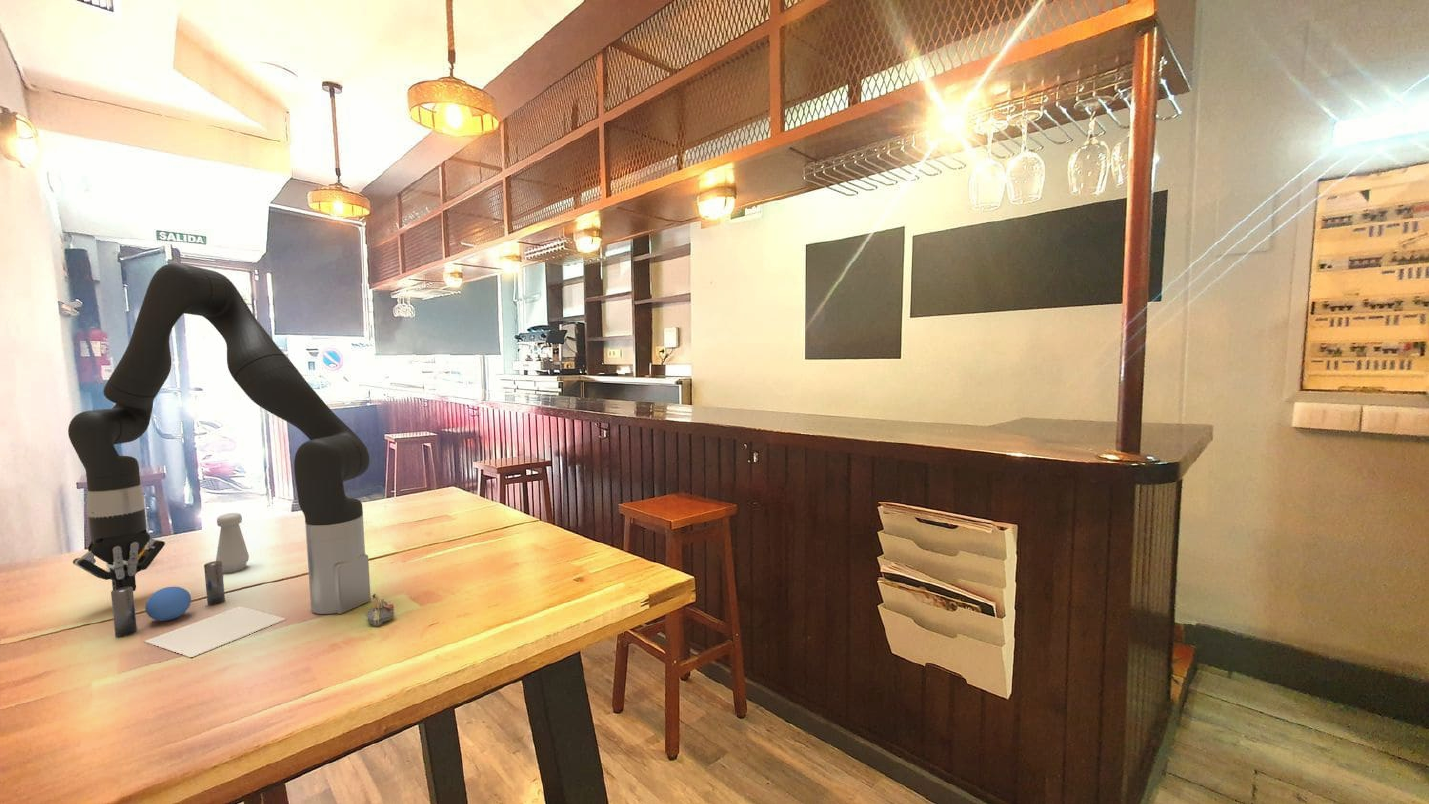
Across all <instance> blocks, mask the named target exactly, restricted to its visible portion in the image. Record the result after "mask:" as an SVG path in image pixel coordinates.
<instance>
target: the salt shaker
mask: <svg viewBox="0 0 1429 804" xmlns="http://www.w3.org/2000/svg"><path fill="white" fill-rule="evenodd" d="M242 517H243V516H242V514H240V513H238V512H230V513H225V514H221V515H219V516H218V517H217V518H216V525H217V526H218V527H220V529H219V530H220V532H219V538H218V544H217V551H216V558H215V561H222V569H223V574H230V573H231V574H232V573H236V572H239V571H243V570H244V569H245V568H246V566H247V564H248V561H249V559H250V554H249V552H248V549H247V546H246V542H245V539H244V537H243V536H244V535H243V533H242V530H241V525H240V524H241V523H242V521H243V518H242Z"/></svg>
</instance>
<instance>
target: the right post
mask: <svg viewBox="0 0 1429 804" xmlns="http://www.w3.org/2000/svg"><path fill="white" fill-rule="evenodd" d="M203 569H204V570H203V571H204V580H205V592H206V593H205V594H206V602H207V604H208V605H207V606H216V605H215V604H217V605H219V604H223V603H225V602H226V596H225V585H224V584H225V583H224V573H223V569H222V561H216V560H214V561H209V562H207V563H205V564H203Z"/></svg>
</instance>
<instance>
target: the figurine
mask: <svg viewBox="0 0 1429 804" xmlns="http://www.w3.org/2000/svg"><path fill="white" fill-rule="evenodd" d="M371 597H372V600H374V606H373V607H371V608H370V609H368V610H367V611H366V612H365V617H366V618H367V620H366V621H367V623H369V624H371V625H372V626H373V627H378V626H381V625H382V624H384V623H386V621H387V622H389V621H391V620H392V619H393V618H394V615H395V609H394V608H395V605H394V604H392V603H391V600H389V601H386V600H385V599H384V598H382V599H381V598H380V597H379V596H378V595H377V593H374V594H373V595H372V596H371ZM383 622H384V623H383Z"/></svg>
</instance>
